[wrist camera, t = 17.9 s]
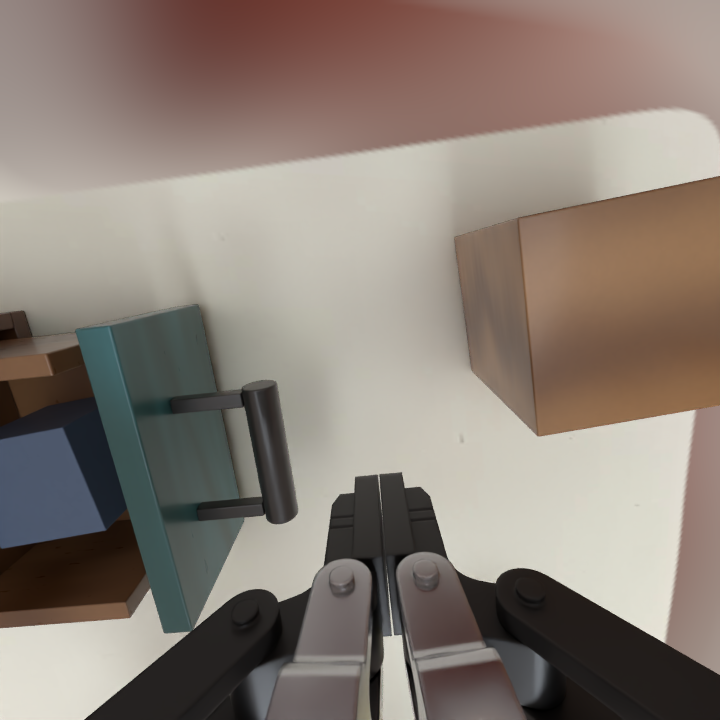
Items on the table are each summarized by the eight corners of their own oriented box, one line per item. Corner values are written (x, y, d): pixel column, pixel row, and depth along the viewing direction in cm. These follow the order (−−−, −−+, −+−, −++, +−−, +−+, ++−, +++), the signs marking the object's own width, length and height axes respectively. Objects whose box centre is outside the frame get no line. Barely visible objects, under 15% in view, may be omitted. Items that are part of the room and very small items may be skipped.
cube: (454, 237, 19) (517, 217, 11) (598, 207, 18) (771, 164, 10) (471, 371, 20) (537, 437, 13) (604, 347, 20) (757, 399, 12)
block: (47, 405, 19) (-51, 449, 14) (134, 388, 19) (62, 427, 14) (81, 486, 20) (0, 549, 16) (164, 470, 20) (106, 530, 15)
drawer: (285, 294, 19) (241, 311, 12) (319, 514, 22) (299, 624, 15) (-5, 326, 19) (-199, 359, 13) (67, 536, 22) (-59, 651, 16)
